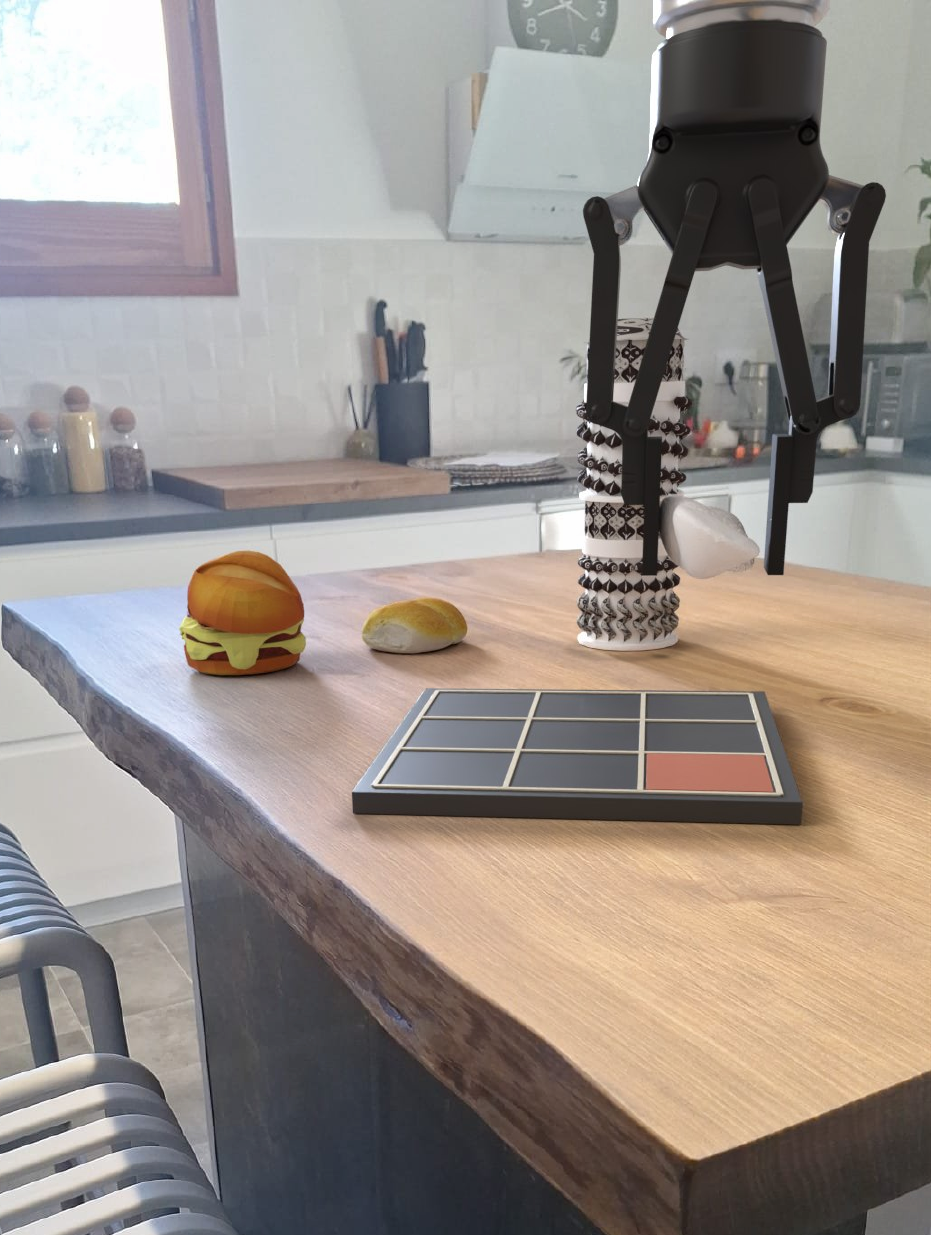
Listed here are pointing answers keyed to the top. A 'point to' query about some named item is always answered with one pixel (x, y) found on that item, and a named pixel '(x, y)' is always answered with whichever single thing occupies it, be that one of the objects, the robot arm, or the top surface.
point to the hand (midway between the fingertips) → (711, 570)
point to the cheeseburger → (242, 616)
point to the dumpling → (704, 538)
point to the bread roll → (414, 626)
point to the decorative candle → (629, 511)
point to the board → (585, 757)
